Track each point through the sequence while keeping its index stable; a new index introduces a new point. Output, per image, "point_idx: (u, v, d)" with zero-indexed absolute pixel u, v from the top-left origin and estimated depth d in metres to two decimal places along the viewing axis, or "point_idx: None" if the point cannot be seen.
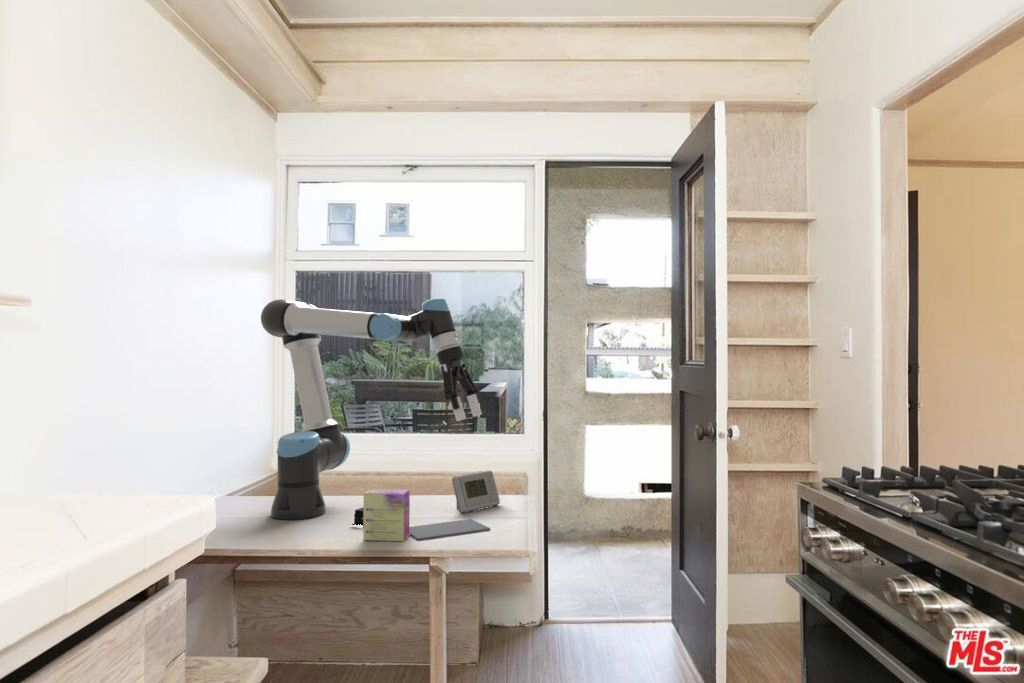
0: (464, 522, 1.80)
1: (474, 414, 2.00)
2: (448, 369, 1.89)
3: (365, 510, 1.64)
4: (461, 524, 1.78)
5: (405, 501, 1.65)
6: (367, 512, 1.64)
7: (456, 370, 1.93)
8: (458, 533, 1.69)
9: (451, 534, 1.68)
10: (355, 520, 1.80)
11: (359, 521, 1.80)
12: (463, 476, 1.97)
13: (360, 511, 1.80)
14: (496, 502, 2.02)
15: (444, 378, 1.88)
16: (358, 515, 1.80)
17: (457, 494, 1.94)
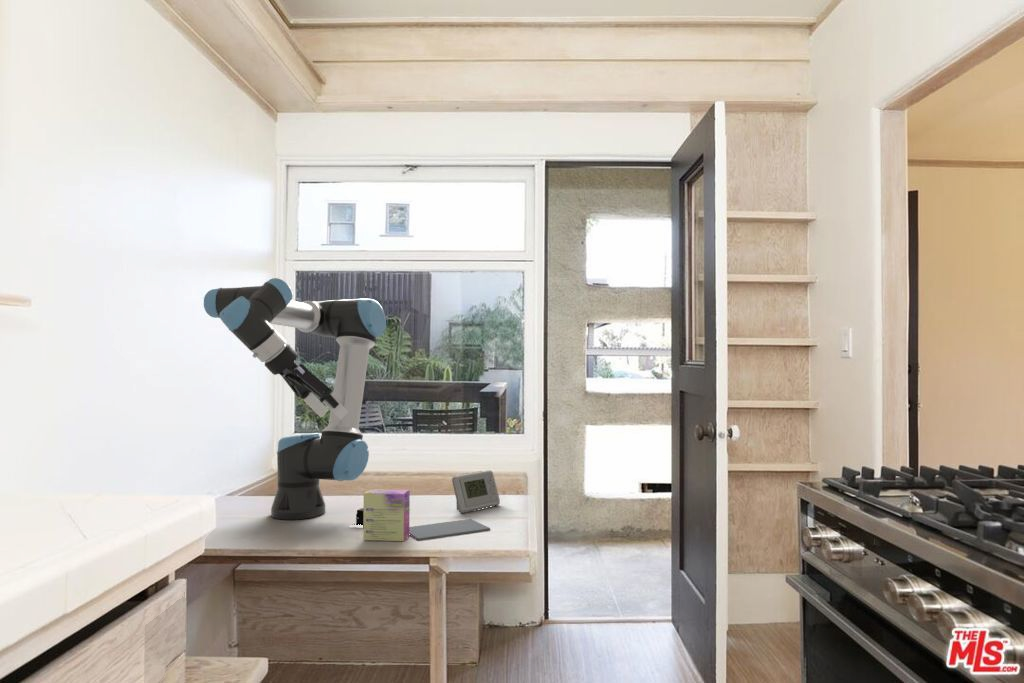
0: (464, 522, 1.80)
1: None
2: None
3: (365, 510, 1.64)
4: (461, 524, 1.78)
5: (405, 501, 1.65)
6: (367, 512, 1.64)
7: None
8: (458, 533, 1.69)
9: (451, 534, 1.68)
10: (357, 520, 1.80)
11: (361, 521, 1.80)
12: (463, 476, 1.97)
13: (362, 511, 1.80)
14: (496, 502, 2.02)
15: None
16: (360, 515, 1.80)
17: (457, 494, 1.94)
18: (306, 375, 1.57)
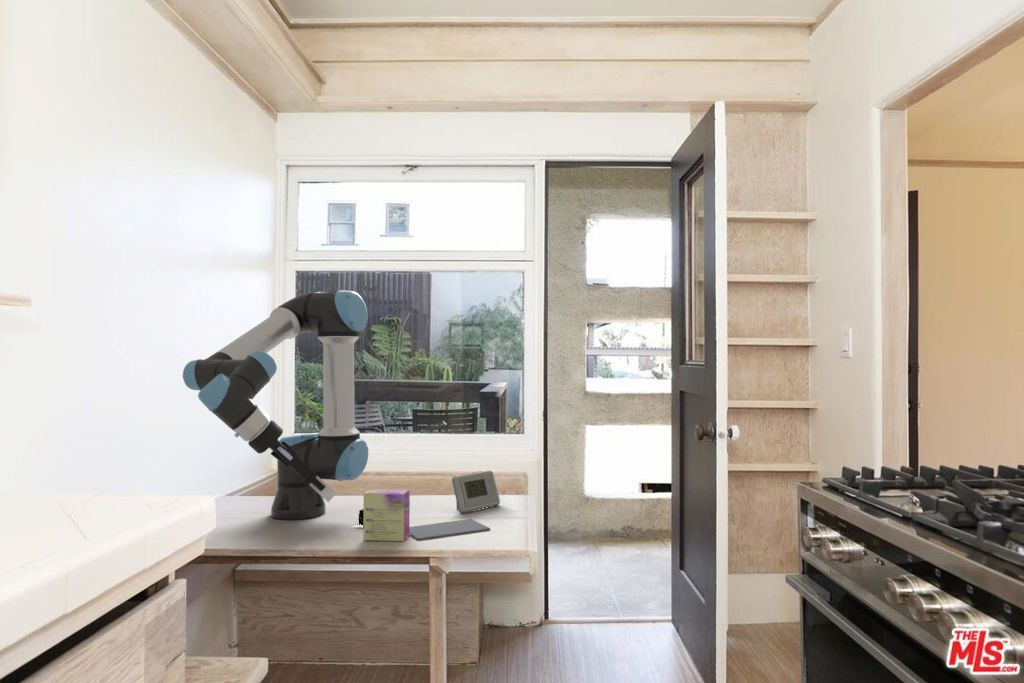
0: (464, 522, 1.80)
1: None
2: None
3: (365, 510, 1.64)
4: (461, 524, 1.78)
5: (405, 501, 1.65)
6: (367, 512, 1.64)
7: None
8: (458, 533, 1.69)
9: (451, 534, 1.68)
10: (359, 520, 1.80)
11: None
12: (463, 476, 1.97)
13: None
14: (496, 502, 2.01)
15: None
16: (362, 515, 1.80)
17: (457, 494, 1.94)
18: (294, 461, 1.51)
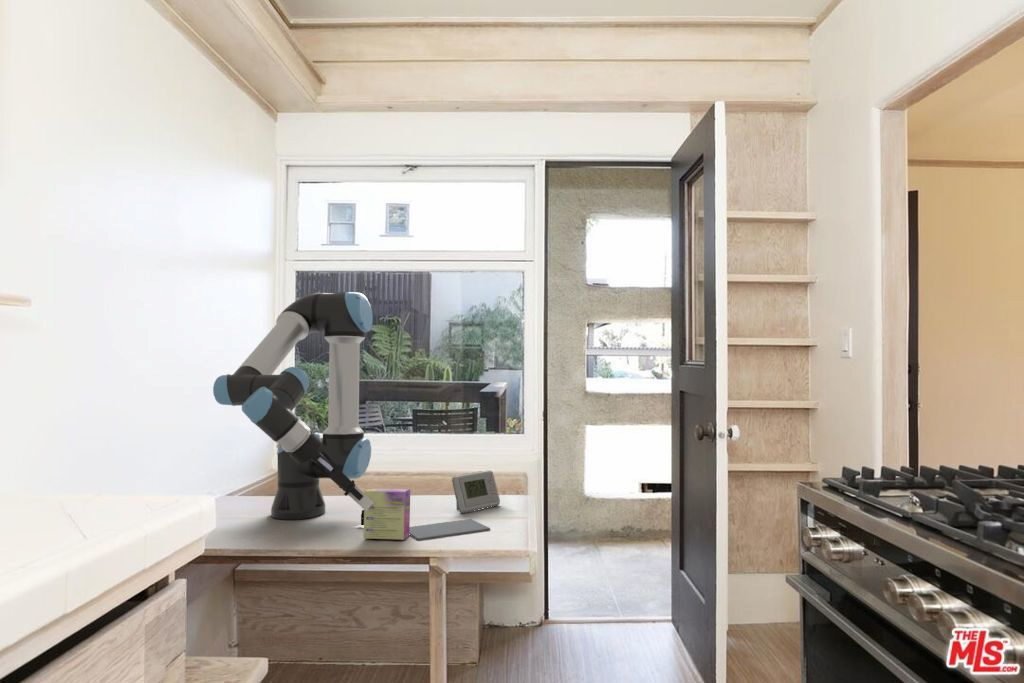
0: (464, 522, 1.80)
1: None
2: None
3: None
4: (461, 524, 1.78)
5: (406, 499, 1.66)
6: (367, 510, 1.65)
7: None
8: (458, 533, 1.69)
9: (451, 534, 1.68)
10: (362, 520, 1.80)
11: None
12: (463, 476, 1.96)
13: None
14: (496, 502, 2.01)
15: None
16: None
17: (457, 494, 1.93)
18: (334, 472, 1.55)
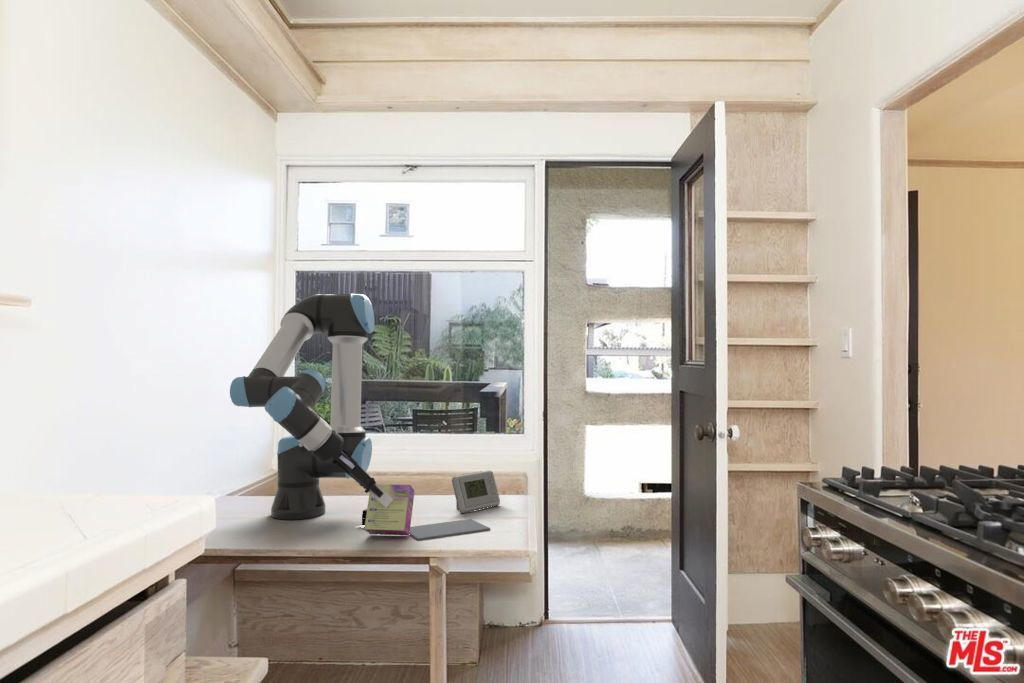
0: (464, 522, 1.80)
1: None
2: None
3: (370, 500, 1.68)
4: (461, 524, 1.78)
5: (410, 494, 1.70)
6: (371, 502, 1.68)
7: None
8: (458, 533, 1.69)
9: (451, 534, 1.68)
10: (363, 521, 1.80)
11: None
12: (463, 476, 1.96)
13: None
14: (496, 502, 2.01)
15: None
16: None
17: (457, 494, 1.93)
18: (355, 470, 1.58)
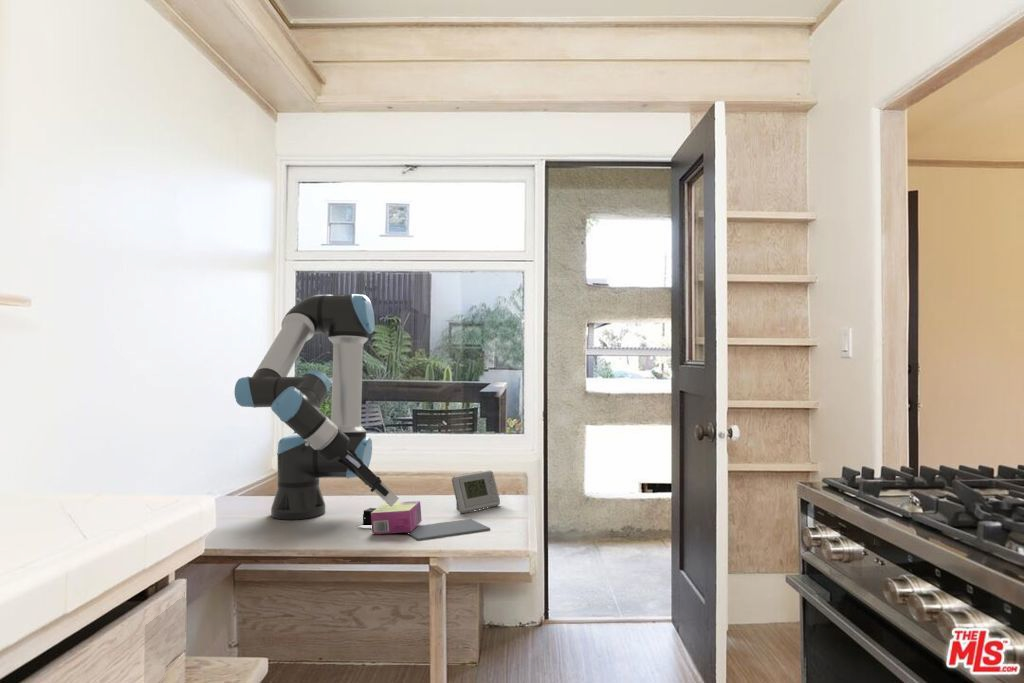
0: (464, 522, 1.80)
1: None
2: None
3: (380, 506, 1.77)
4: (461, 524, 1.78)
5: (418, 507, 1.79)
6: (381, 506, 1.77)
7: None
8: (458, 533, 1.69)
9: (451, 534, 1.68)
10: (364, 521, 1.79)
11: (368, 521, 1.79)
12: (463, 476, 1.96)
13: (369, 512, 1.79)
14: (496, 502, 2.01)
15: None
16: (367, 516, 1.79)
17: (457, 494, 1.93)
18: (361, 469, 1.59)
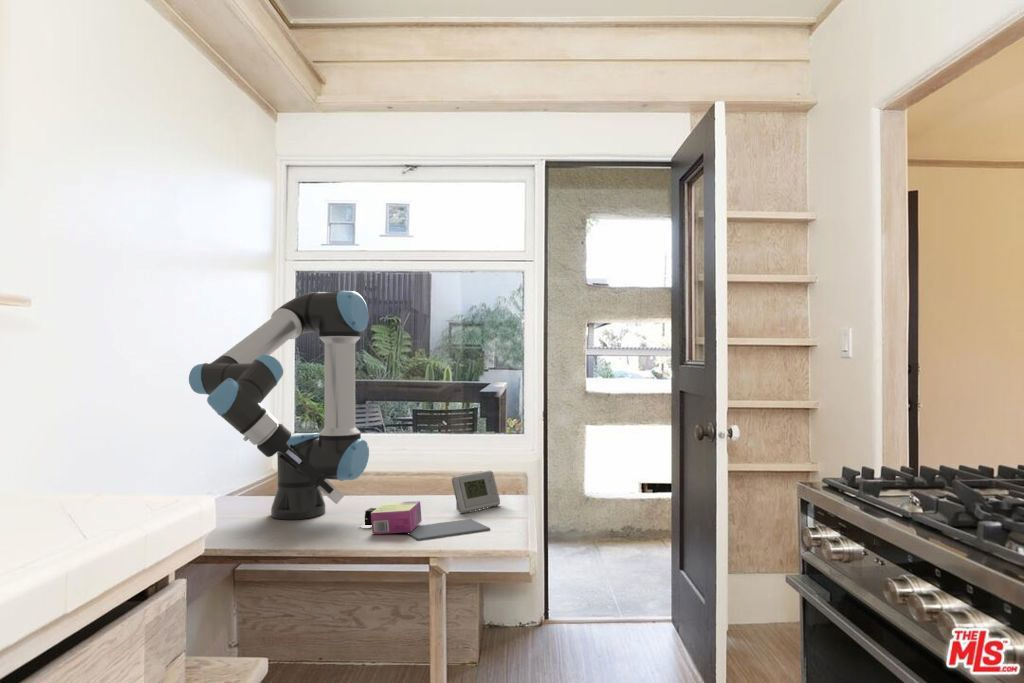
0: (464, 522, 1.80)
1: None
2: None
3: (380, 506, 1.77)
4: (461, 524, 1.78)
5: (418, 507, 1.79)
6: (381, 506, 1.77)
7: None
8: (458, 533, 1.69)
9: (451, 534, 1.68)
10: (366, 521, 1.79)
11: (370, 521, 1.79)
12: (463, 476, 1.96)
13: None
14: (496, 502, 2.01)
15: None
16: (369, 516, 1.79)
17: (456, 494, 1.93)
18: (303, 465, 1.52)
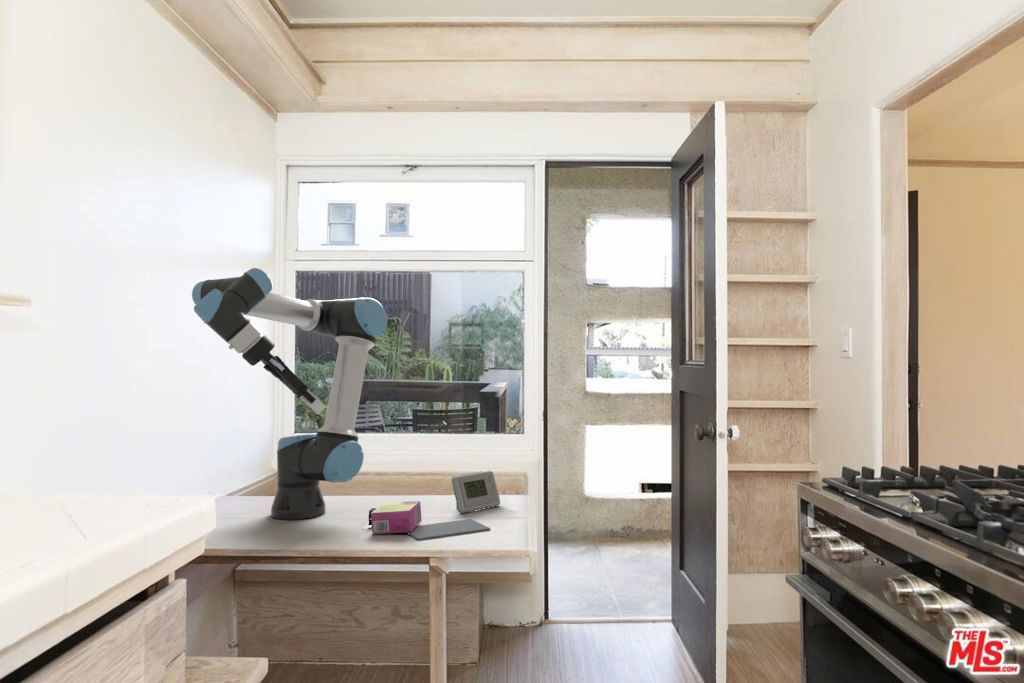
0: (464, 522, 1.80)
1: None
2: None
3: (380, 506, 1.77)
4: (461, 524, 1.78)
5: (418, 507, 1.79)
6: (381, 506, 1.77)
7: None
8: (458, 533, 1.69)
9: (451, 534, 1.68)
10: (370, 521, 1.79)
11: None
12: (463, 476, 1.96)
13: None
14: (496, 503, 2.01)
15: None
16: None
17: (456, 494, 1.93)
18: (285, 372, 1.60)
